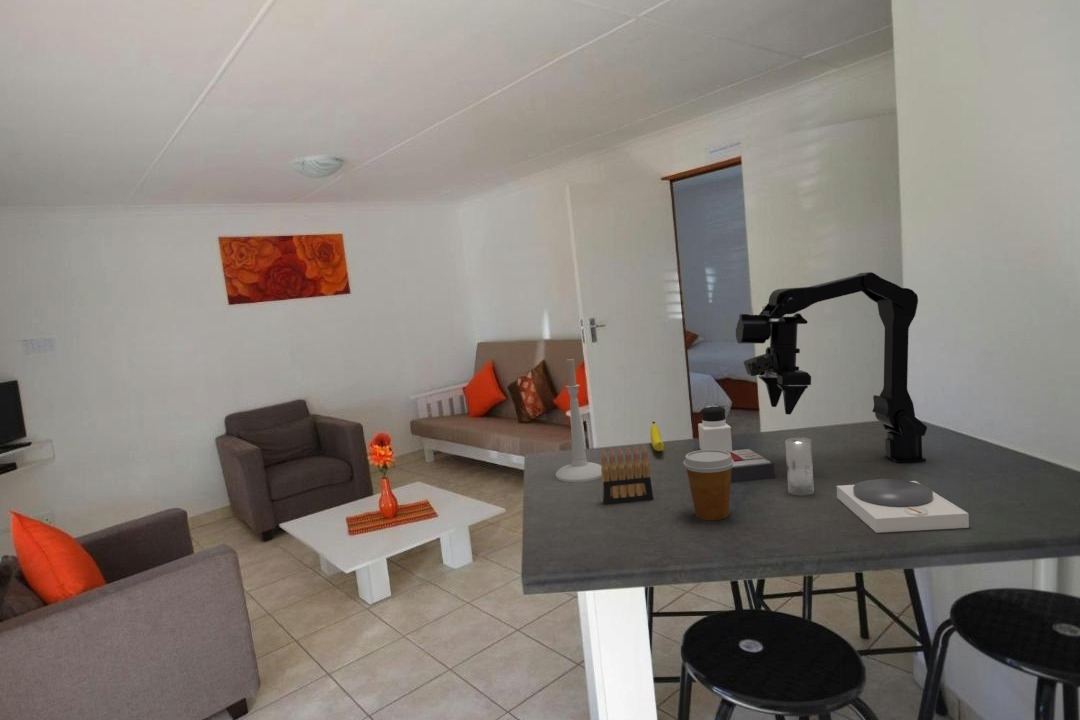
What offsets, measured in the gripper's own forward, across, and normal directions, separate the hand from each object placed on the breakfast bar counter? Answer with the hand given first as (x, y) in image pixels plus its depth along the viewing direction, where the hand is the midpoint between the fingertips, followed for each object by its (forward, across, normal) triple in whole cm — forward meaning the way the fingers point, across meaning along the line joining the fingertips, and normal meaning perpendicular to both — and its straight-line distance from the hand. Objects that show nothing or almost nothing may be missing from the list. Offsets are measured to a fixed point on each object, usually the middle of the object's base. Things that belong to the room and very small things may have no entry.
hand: (780, 410), depth 145 cm
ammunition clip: (+18, +12, -37) cm, 43 cm away
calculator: (+16, -2, -8) cm, 18 cm away
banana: (+17, -26, -24) cm, 39 cm away
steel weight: (+14, +16, -1) cm, 21 cm away
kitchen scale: (+13, +31, +11) cm, 35 cm away
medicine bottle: (+15, -21, -9) cm, 27 cm away
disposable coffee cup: (+16, +24, -22) cm, 36 cm away
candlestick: (+19, -10, -46) cm, 51 cm away
